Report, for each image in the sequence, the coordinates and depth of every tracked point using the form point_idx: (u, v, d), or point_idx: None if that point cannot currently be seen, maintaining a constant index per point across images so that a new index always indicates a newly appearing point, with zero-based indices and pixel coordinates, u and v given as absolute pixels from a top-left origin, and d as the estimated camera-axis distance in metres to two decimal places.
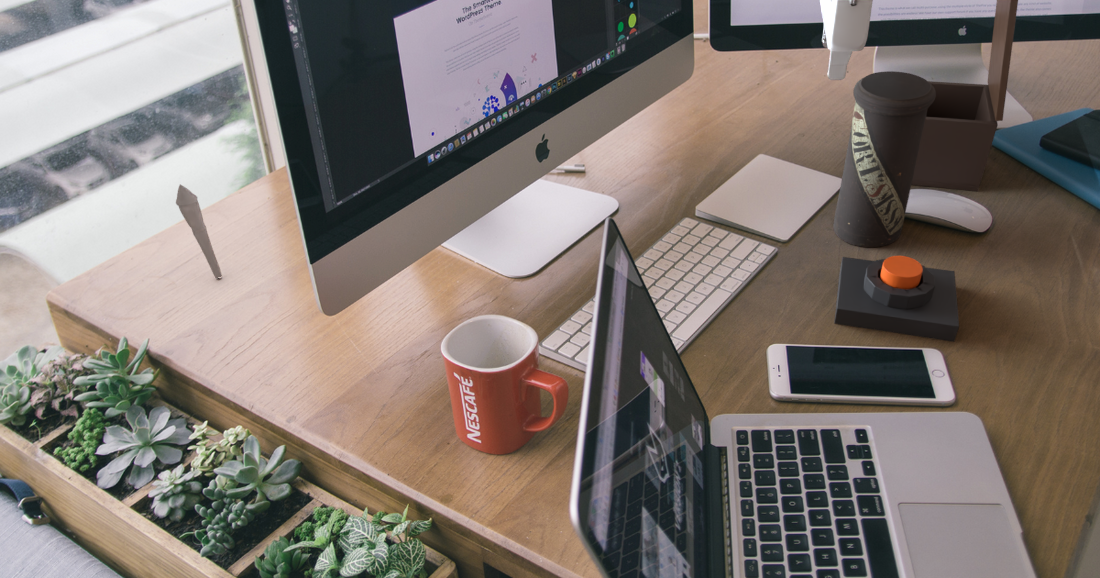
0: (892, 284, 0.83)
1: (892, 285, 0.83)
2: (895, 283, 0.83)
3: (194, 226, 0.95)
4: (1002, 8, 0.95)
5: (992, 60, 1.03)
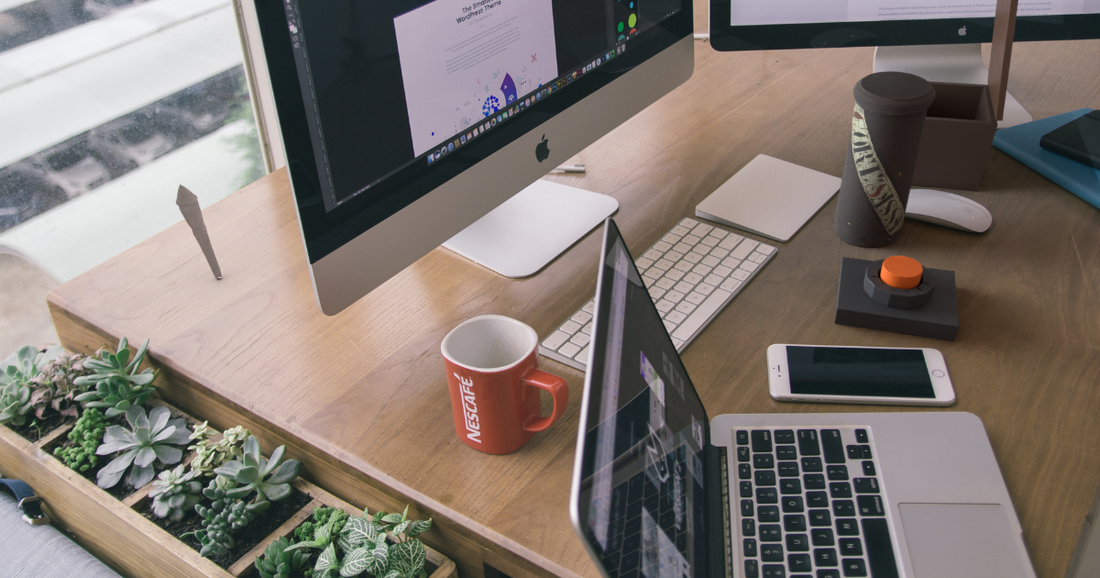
0: (892, 284, 0.83)
1: (892, 285, 0.83)
2: (895, 283, 0.83)
3: (194, 226, 0.95)
4: (1002, 8, 0.95)
5: (992, 60, 1.03)
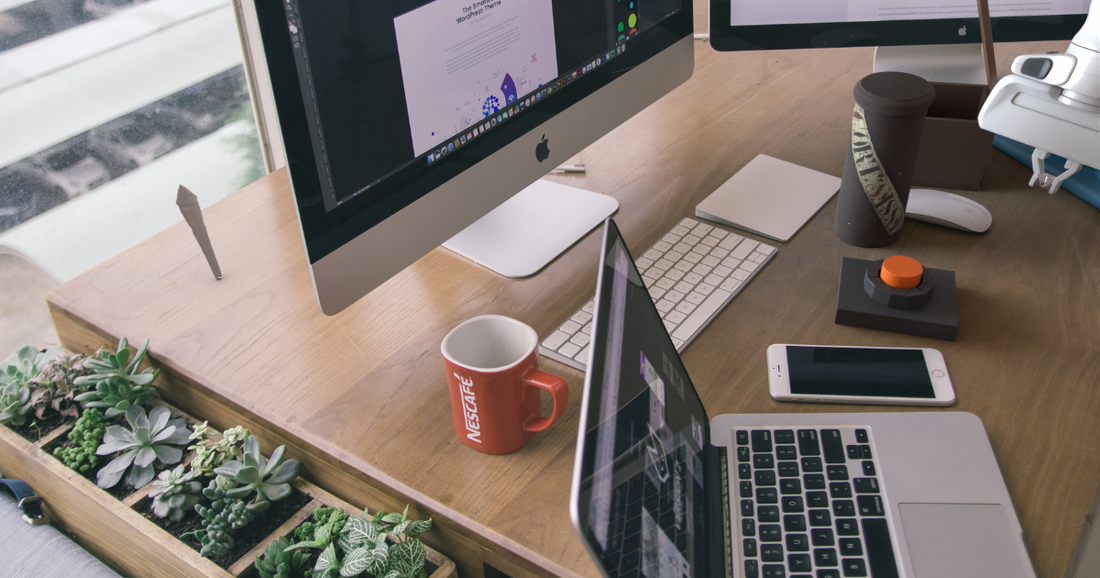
0: (892, 284, 0.83)
1: (892, 285, 0.83)
2: (895, 283, 0.83)
3: (194, 226, 0.95)
4: None
5: (985, 62, 1.03)
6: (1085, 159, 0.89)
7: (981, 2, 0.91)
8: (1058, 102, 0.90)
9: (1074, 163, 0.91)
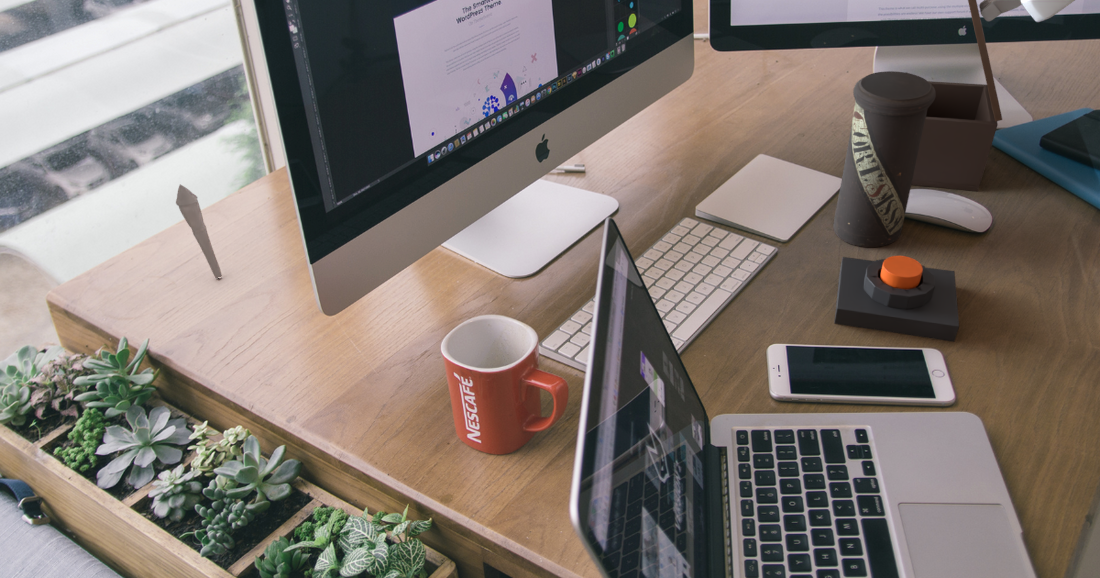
0: (892, 284, 0.83)
1: (892, 285, 0.83)
2: (895, 283, 0.83)
3: (194, 226, 0.95)
4: None
5: None
6: None
7: (970, 5, 0.91)
8: None
9: None
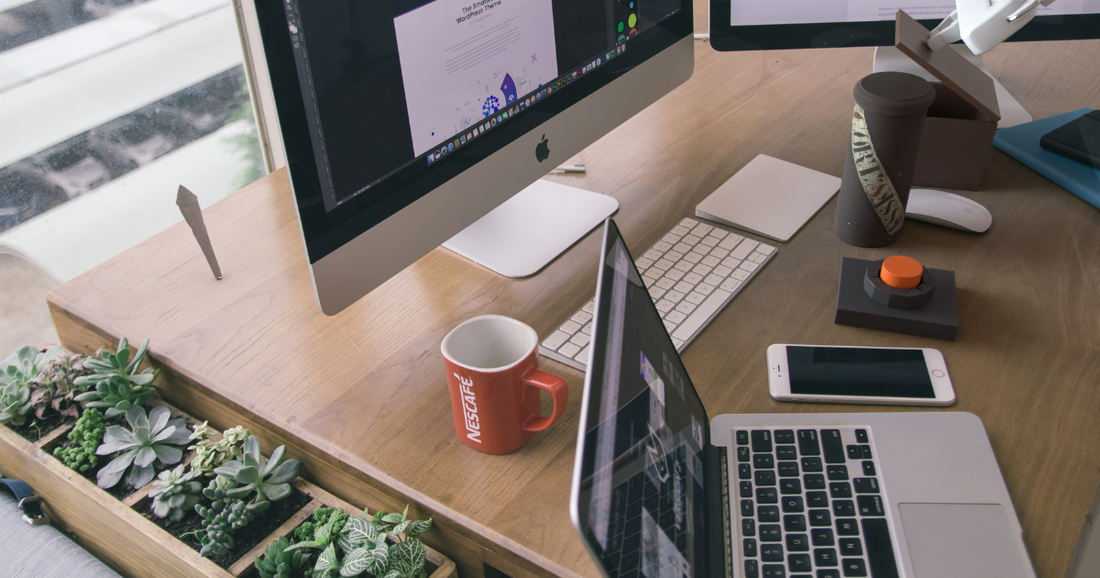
0: (892, 284, 0.83)
1: (892, 285, 0.83)
2: (895, 283, 0.83)
3: (194, 226, 0.95)
4: None
5: None
6: (961, 13, 0.95)
7: (901, 49, 0.97)
8: None
9: (957, 21, 0.97)
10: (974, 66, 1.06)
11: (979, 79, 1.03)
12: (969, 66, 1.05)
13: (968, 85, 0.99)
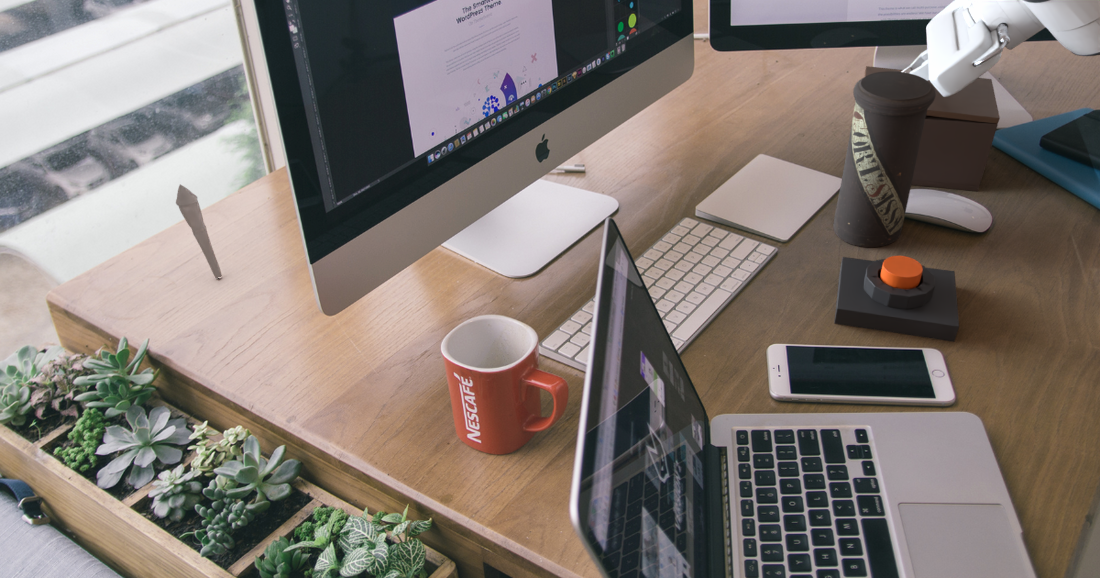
0: (892, 284, 0.83)
1: (892, 285, 0.83)
2: (895, 283, 0.83)
3: (194, 226, 0.95)
4: None
5: None
6: (931, 55, 0.99)
7: None
8: None
9: (927, 61, 1.01)
10: None
11: (971, 88, 1.04)
12: None
13: (954, 103, 1.01)
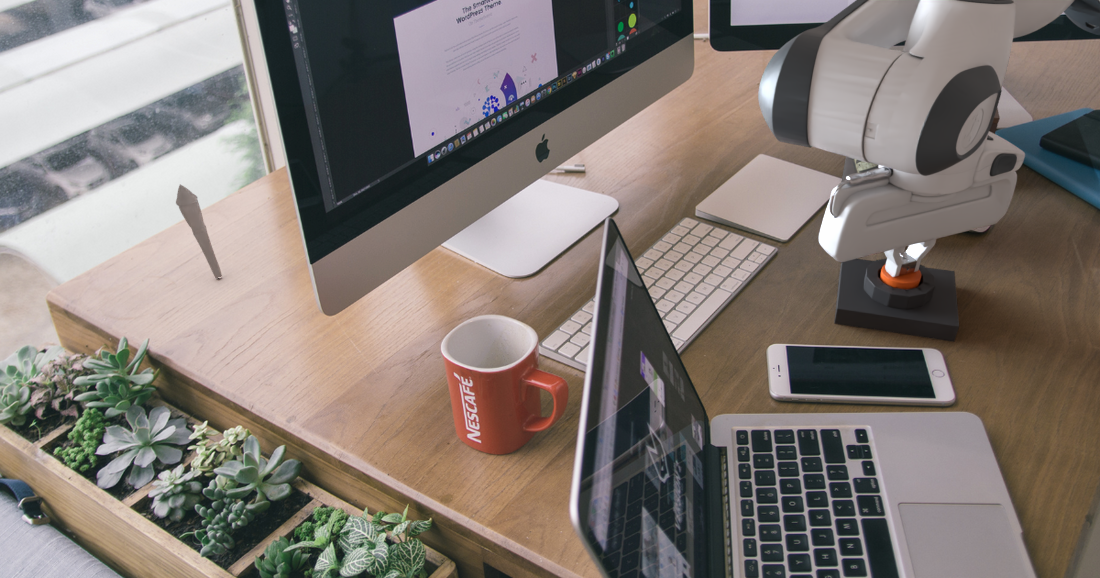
0: None
1: None
2: None
3: (194, 226, 0.95)
4: None
5: None
6: None
7: None
8: None
9: None
10: None
11: None
12: None
13: None
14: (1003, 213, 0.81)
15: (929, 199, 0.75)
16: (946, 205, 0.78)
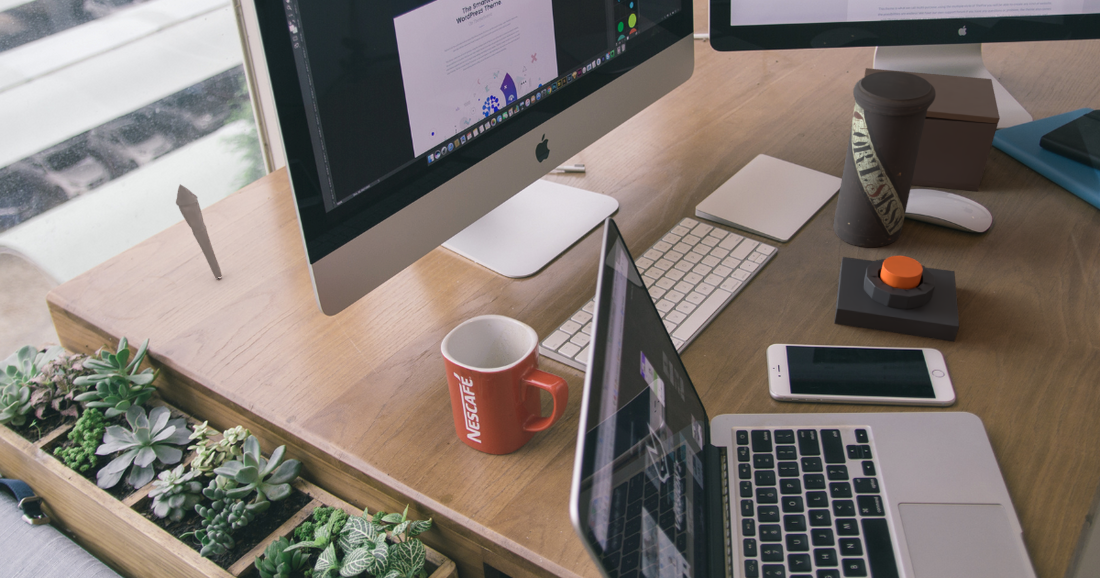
0: (892, 284, 0.83)
1: (892, 285, 0.83)
2: (895, 283, 0.83)
3: (194, 226, 0.95)
4: None
5: None
6: None
7: None
8: None
9: None
10: (964, 78, 1.07)
11: (970, 89, 1.04)
12: (957, 81, 1.06)
13: (954, 104, 1.01)
14: None
15: None
16: None
